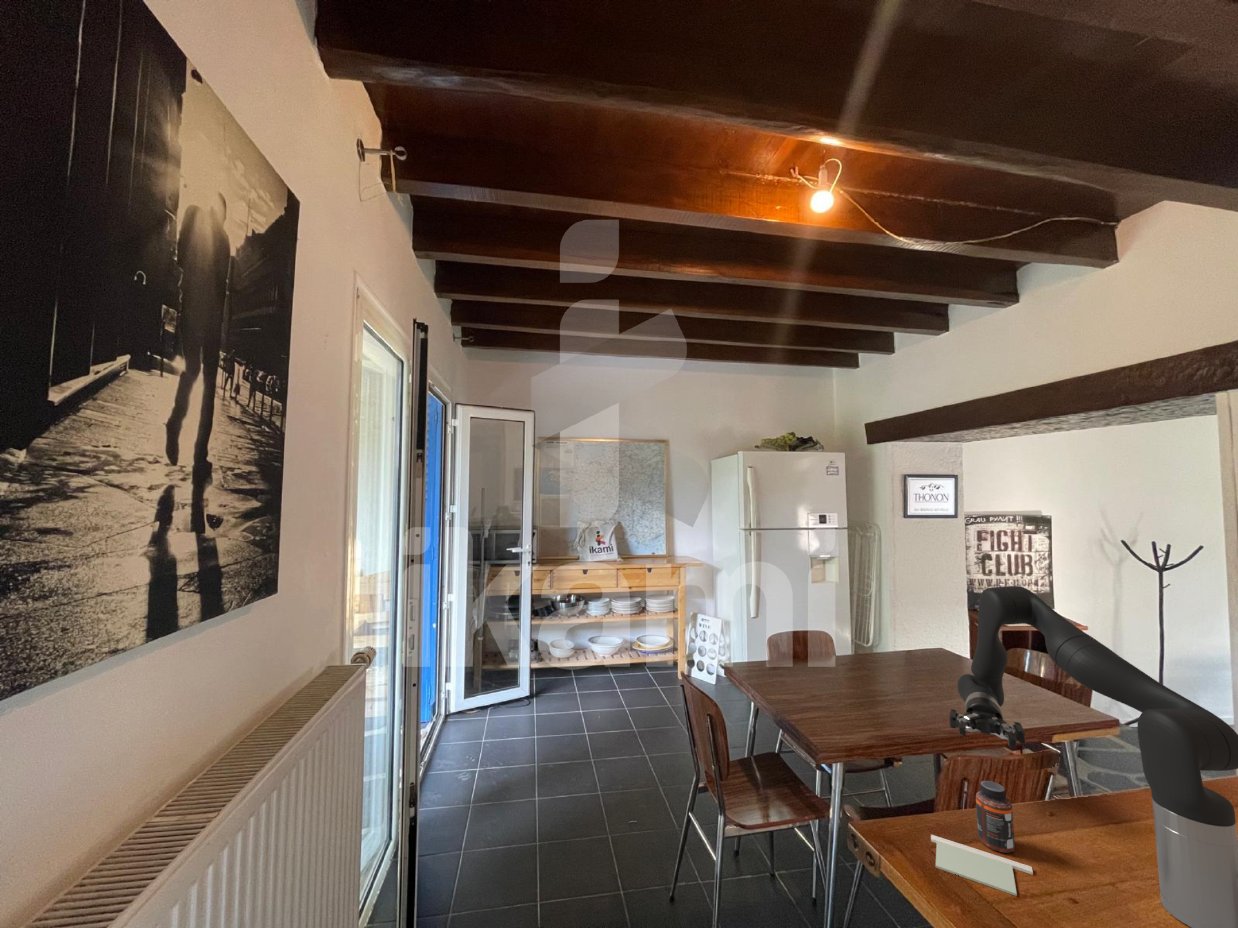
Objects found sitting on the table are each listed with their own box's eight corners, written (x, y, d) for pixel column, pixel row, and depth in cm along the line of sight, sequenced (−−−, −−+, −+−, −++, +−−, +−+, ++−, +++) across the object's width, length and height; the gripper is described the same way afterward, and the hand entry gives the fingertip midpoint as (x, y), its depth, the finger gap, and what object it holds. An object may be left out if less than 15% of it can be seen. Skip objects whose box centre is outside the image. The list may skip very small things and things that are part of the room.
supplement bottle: (1022, 856, 95) (1018, 795, 96) (987, 852, 96) (984, 792, 97) (1004, 836, 101) (1001, 779, 102) (972, 832, 102) (969, 776, 103)
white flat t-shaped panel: (1031, 869, 92) (1031, 866, 92) (1039, 903, 84) (1039, 900, 84) (931, 836, 101) (931, 834, 101) (929, 865, 93) (929, 862, 93)
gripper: (949, 690, 128) (948, 713, 115) (1018, 703, 120) (1026, 729, 107) (950, 720, 127) (950, 745, 114) (1020, 734, 119) (1029, 764, 106)
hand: (987, 737), depth 110 cm, fingers open, 8 cm apart
